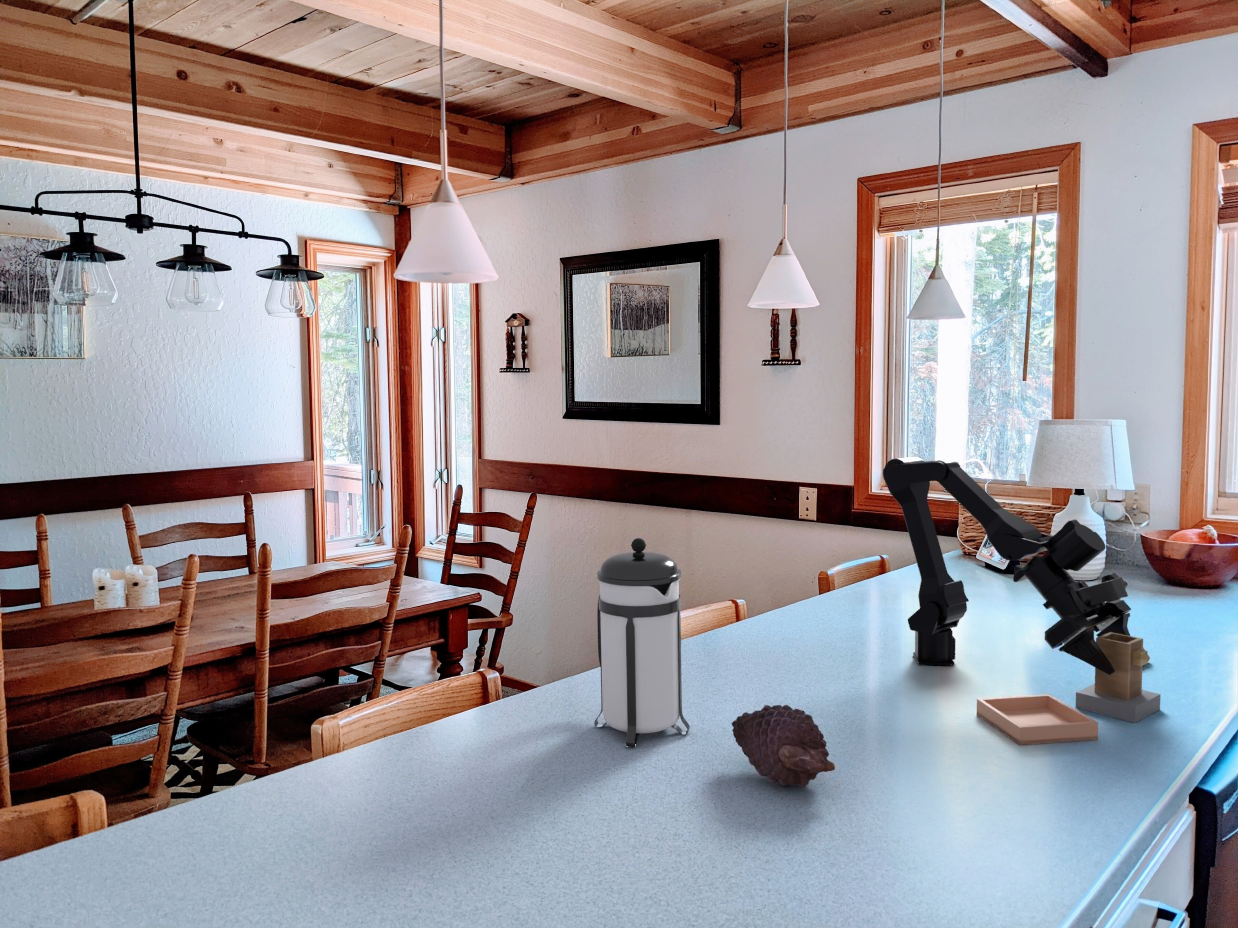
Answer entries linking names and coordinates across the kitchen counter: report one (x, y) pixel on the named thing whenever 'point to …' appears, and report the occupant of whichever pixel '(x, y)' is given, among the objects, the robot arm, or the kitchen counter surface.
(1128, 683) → the walnut sleeve
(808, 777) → the pine cone
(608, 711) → the coffee press
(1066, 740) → the terracotta tray
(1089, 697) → the block
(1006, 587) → the kitchen counter surface
